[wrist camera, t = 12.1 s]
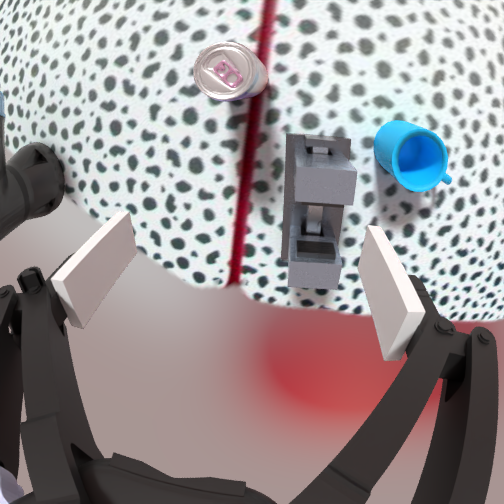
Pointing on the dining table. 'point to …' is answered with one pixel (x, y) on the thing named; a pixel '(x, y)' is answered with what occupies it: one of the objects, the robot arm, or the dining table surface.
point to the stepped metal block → (313, 260)
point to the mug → (412, 155)
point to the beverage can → (229, 72)
